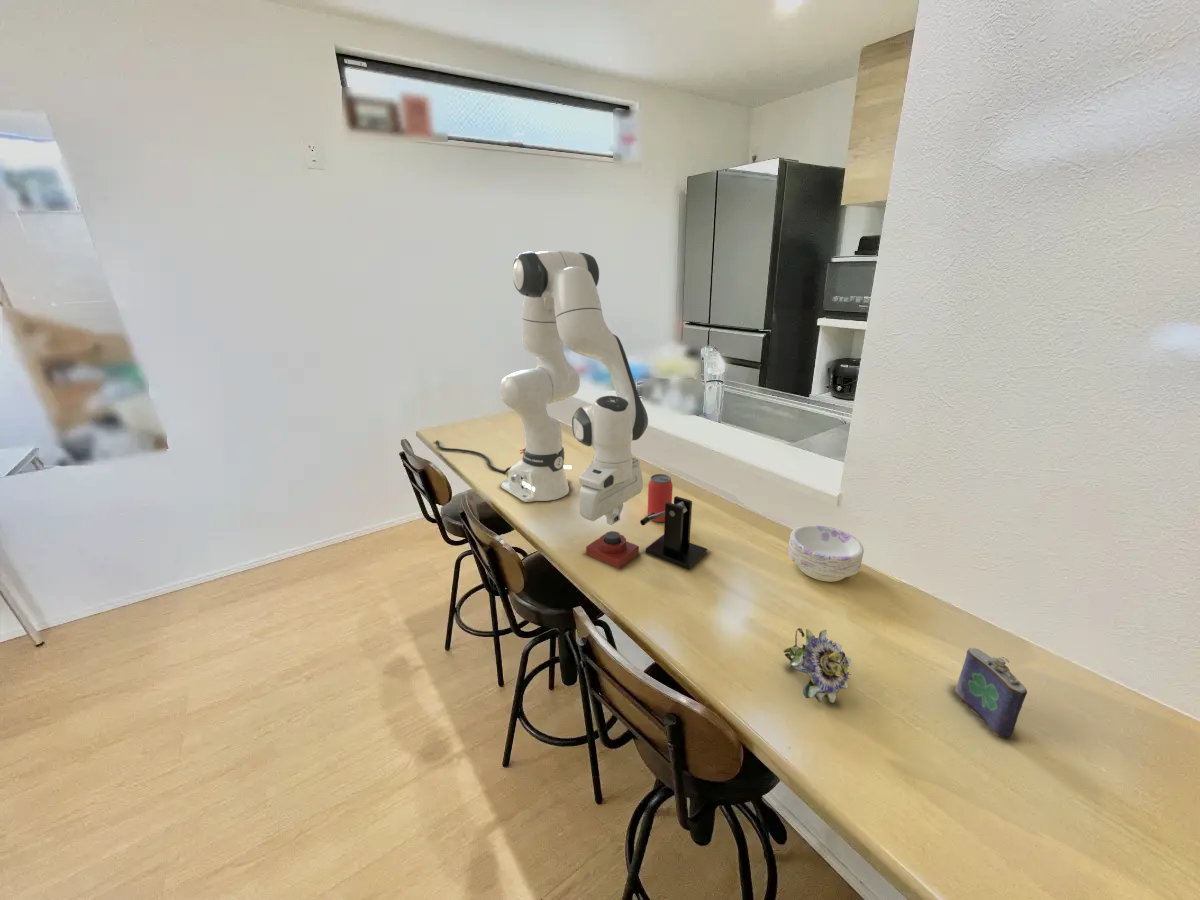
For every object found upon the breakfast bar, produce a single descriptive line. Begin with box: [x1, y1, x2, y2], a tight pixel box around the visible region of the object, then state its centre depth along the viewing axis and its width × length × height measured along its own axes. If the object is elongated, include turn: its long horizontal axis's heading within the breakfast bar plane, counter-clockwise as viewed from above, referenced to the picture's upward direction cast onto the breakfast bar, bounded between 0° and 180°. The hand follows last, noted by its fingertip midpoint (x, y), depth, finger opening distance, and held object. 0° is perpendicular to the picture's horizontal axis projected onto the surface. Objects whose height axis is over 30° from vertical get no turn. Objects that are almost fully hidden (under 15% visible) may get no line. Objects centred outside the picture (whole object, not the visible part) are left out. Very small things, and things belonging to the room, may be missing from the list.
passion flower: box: [783, 627, 852, 704], centre depth 82 cm, size 11×11×12 cm
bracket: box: [645, 496, 708, 570], centre depth 118 cm, size 12×9×14 cm
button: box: [604, 530, 621, 545], centre depth 119 cm, size 4×4×2 cm
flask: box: [954, 647, 1028, 740], centre depth 75 cm, size 9×3×11 cm, turn 8°
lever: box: [639, 502, 687, 526], centre depth 119 cm, size 12×5×2 cm
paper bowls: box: [787, 524, 865, 583], centre depth 112 cm, size 15×15×8 cm
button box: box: [585, 533, 640, 569], centre depth 119 cm, size 10×8×4 cm
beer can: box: [647, 473, 674, 523], centre depth 135 cm, size 7×7×12 cm
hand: (613, 522), depth 117 cm, fingers closed
